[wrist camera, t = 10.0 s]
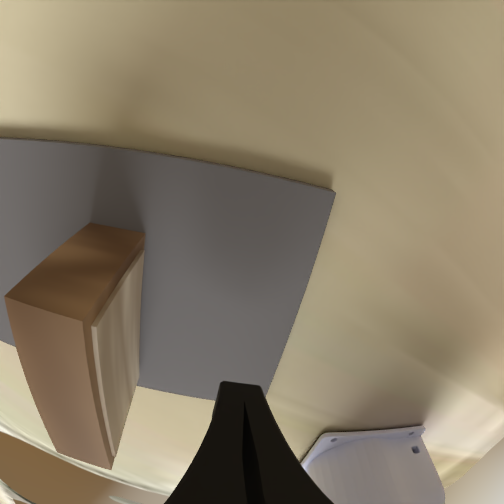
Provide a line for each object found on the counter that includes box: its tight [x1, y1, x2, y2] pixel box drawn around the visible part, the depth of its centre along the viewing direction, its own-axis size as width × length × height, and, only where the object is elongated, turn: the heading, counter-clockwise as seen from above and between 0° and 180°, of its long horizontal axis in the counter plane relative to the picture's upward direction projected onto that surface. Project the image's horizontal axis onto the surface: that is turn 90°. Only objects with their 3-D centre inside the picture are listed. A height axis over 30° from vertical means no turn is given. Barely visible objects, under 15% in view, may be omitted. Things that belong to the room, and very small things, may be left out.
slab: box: [4, 223, 146, 470], centre depth 10 cm, size 3×8×6 cm, turn 167°
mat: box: [0, 137, 336, 401], centre depth 13 cm, size 18×12×1 cm, turn 77°
